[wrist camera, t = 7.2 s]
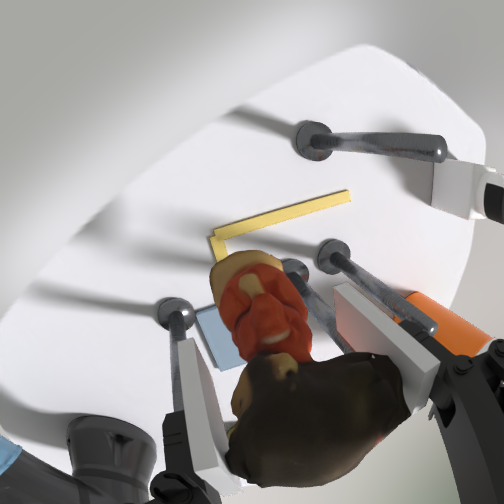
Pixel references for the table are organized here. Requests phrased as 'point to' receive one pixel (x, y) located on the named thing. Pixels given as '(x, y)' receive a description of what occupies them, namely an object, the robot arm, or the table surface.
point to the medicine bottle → (468, 190)
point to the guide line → (273, 220)
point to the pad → (219, 339)
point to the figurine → (296, 384)
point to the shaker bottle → (451, 328)
